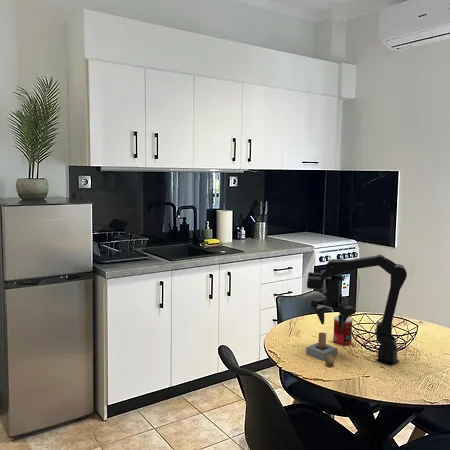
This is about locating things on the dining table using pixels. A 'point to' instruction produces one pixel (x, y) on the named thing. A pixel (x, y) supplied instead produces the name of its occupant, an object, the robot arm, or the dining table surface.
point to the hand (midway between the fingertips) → (331, 327)
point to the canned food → (342, 332)
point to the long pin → (322, 341)
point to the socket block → (321, 351)
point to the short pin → (329, 360)
